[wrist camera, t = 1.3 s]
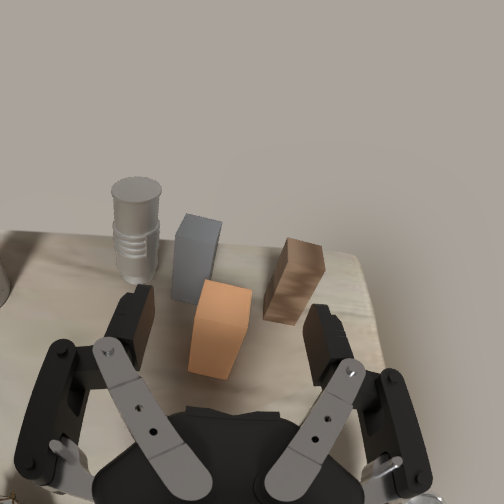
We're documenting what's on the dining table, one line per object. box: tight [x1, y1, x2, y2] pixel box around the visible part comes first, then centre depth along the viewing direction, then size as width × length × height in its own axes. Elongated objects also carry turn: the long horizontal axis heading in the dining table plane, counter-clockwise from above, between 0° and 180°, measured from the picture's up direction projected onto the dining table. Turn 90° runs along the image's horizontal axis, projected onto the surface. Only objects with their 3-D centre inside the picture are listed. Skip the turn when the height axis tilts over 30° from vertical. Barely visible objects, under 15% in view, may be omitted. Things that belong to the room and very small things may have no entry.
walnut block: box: [263, 238, 325, 326], centre depth 41 cm, size 5×5×12 cm
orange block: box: [188, 279, 252, 380], centre depth 31 cm, size 5×5×12 cm
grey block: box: [171, 214, 222, 305], centre depth 40 cm, size 5×5×12 cm
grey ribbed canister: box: [111, 177, 162, 285], centre depth 39 cm, size 7×7×15 cm
